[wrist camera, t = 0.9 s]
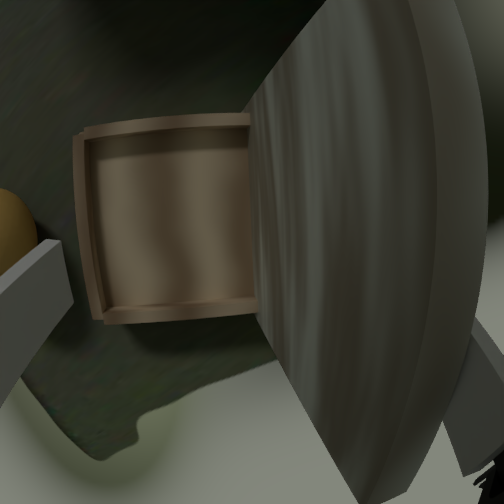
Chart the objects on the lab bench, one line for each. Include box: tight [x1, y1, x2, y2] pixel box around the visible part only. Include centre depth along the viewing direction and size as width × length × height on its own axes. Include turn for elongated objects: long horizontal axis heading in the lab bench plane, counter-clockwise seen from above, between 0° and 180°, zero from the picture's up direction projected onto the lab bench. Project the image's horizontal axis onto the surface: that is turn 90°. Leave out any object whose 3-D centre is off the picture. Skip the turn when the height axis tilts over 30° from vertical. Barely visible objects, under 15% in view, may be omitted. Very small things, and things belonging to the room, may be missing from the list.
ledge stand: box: [73, 0, 488, 504], centre depth 16 cm, size 16×18×24 cm
